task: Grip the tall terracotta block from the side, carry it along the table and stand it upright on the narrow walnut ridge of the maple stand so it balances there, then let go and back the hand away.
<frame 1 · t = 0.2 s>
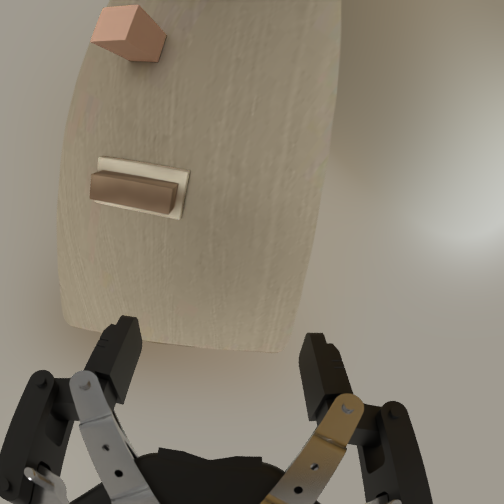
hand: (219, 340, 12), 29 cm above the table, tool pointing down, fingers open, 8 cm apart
stand: (140, 185, 37), on the table
block: (147, 47, 28), on the table
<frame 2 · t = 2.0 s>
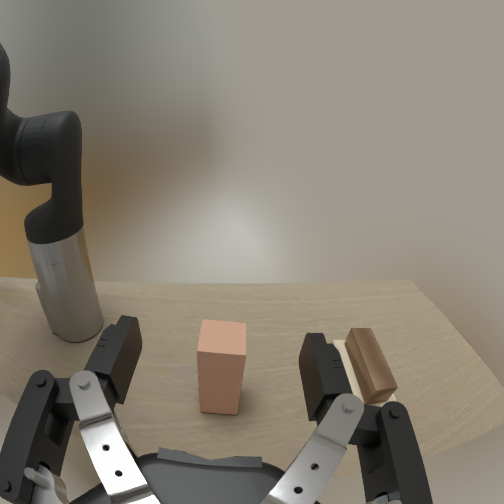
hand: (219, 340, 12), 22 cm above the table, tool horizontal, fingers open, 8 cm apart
stand: (360, 377, 36), on the table
block: (219, 399, 31), on the table
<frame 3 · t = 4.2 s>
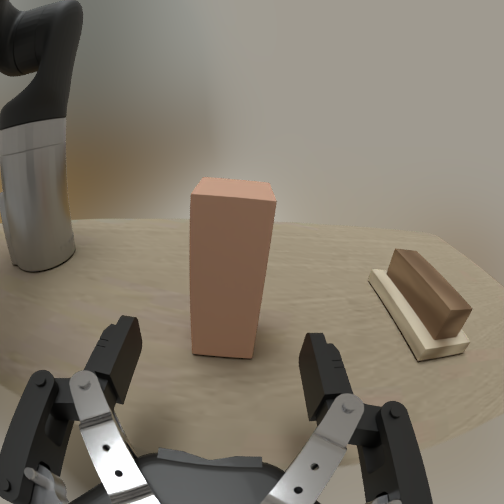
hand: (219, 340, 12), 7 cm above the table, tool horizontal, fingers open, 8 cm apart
stand: (414, 313, 26), on the table
block: (223, 336, 21), on the table
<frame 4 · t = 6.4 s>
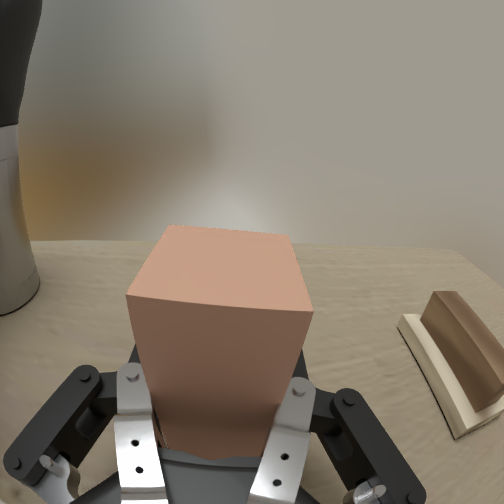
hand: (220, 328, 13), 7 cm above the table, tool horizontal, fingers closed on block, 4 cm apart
stand: (450, 370, 18), on the table
block: (215, 433, 14), on the table, touching gripper
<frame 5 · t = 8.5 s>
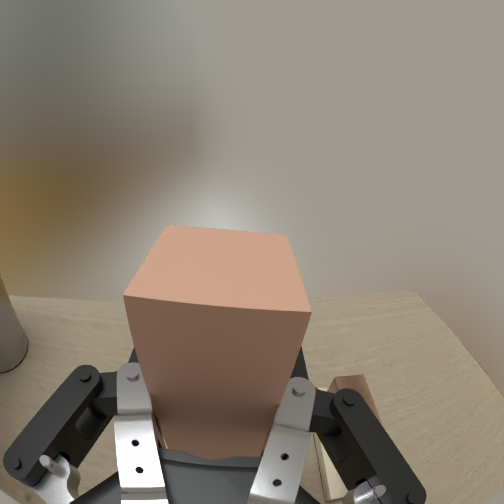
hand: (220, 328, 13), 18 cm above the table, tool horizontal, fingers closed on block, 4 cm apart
stand: (345, 441, 23), on the table
block: (215, 433, 13), point 11 cm above the table, touching gripper
when the fingers open (12 cm above the table, at t = 10.9 s): block stays where it is, resting on stand.
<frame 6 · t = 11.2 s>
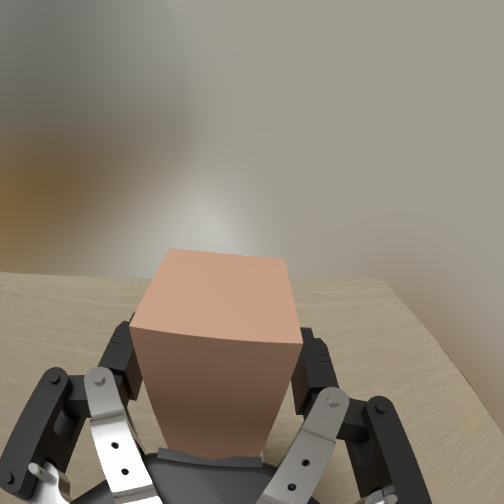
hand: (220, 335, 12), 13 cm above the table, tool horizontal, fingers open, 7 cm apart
block: (215, 440, 14), point 5 cm above the table, touching stand
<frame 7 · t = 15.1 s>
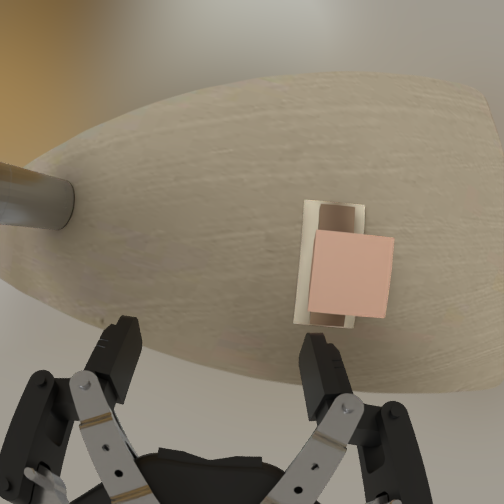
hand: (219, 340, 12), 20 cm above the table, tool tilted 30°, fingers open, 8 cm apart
stand: (329, 264, 31), on the table
block: (334, 266, 26), point 5 cm above the table, touching stand
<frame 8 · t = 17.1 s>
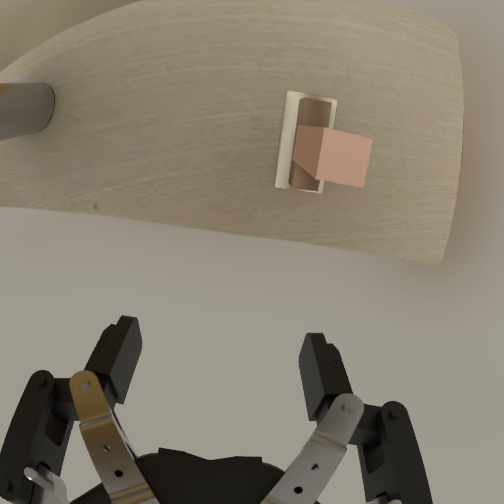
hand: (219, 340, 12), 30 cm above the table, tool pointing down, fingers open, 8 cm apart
stand: (304, 141, 36), on the table
block: (312, 145, 32), point 5 cm above the table, touching stand
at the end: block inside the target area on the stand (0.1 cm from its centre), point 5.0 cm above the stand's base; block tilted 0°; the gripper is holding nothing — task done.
